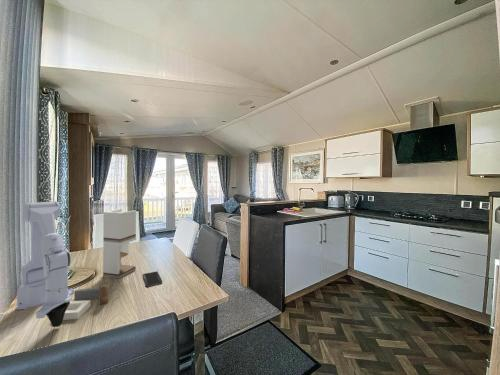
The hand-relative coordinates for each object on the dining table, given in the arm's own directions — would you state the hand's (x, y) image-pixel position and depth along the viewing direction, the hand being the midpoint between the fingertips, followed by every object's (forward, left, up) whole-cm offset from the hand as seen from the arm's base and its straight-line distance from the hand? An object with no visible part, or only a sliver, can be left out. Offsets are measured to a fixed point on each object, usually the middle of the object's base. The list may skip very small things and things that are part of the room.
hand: (57, 325), depth 74 cm
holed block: (0, +8, -1) cm, 9 cm away
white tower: (+1, +46, -2) cm, 47 cm away
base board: (0, +11, -2) cm, 12 cm away
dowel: (+8, +14, -2) cm, 17 cm away
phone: (+21, +36, -2) cm, 42 cm away
